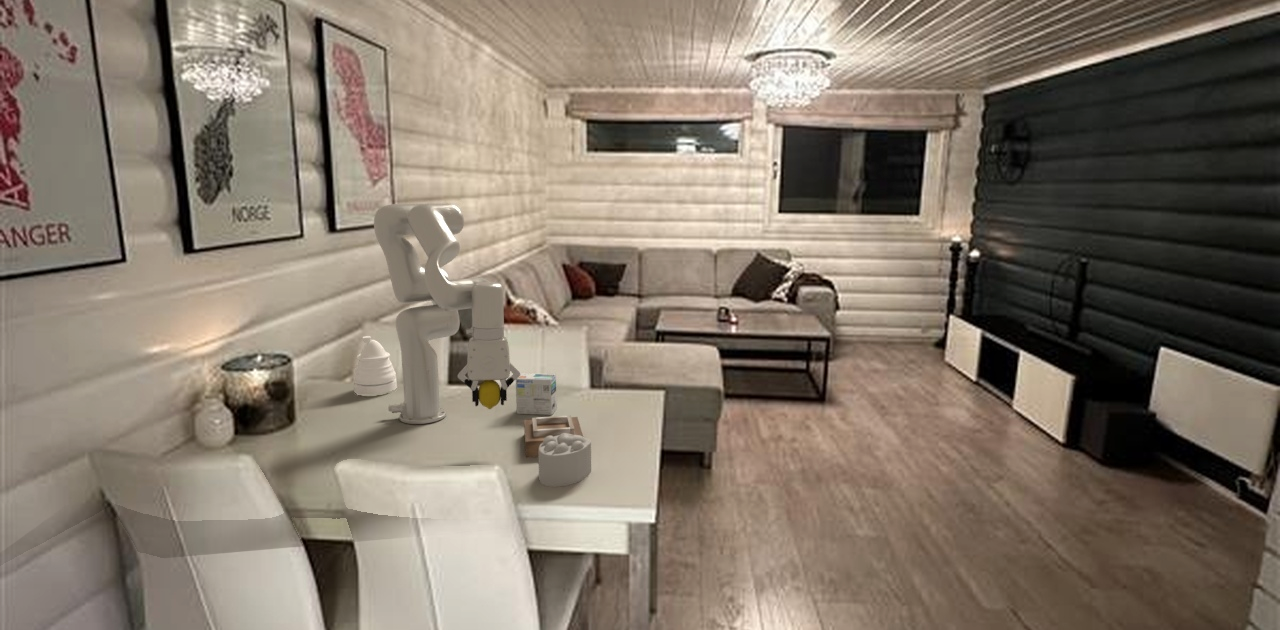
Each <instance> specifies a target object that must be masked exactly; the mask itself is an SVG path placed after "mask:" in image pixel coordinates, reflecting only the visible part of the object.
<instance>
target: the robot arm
mask: <svg viewBox="0 0 1280 630" xmlns="http://www.w3.org/2000/svg"><path fill="white" fill-rule="evenodd" d="M464 226H465V218H464V214H463V213H462V211H461V210H460V208H459V207H458V206H457V205H455V204H454V203H448V202H447V203H446V202H445V203H393V204H392V203H391V204H387V205H383V206H381V207H379V208H378V209H377V210H376V212H375V214H374V218H373V228H374V229H373V231H374V233H375V234H374V235H375V237H376V240H377V243H378V245H379V246H380V248H381V250H382V252H383V254H384V256H385V257H384V258H385V260H386V263H387V270H388V273H389V278H390V282H391V286H392V290H393V293H394V297H395V298H396V300H397V301H398V302H399V303H401V304H417V303H424V302H431V303H432V304H431V305H422V306H415V307H409V308H406V309H403V310H402V311H401V312H400V313H398V314H397V316H396V318H395V328H396V333H397V338H398V341H399V345H400V346H399V347H400V348H399V349H400V355H401V368H402V386H403V399H404V401H403V402H400V404H394V403H393V404H388V409H387V410H388V412H391V413H392V414H397V413H400V414H399V416H398V417H399V421H401V422H402V423H405V424H409V425H424V424H431V423H435V422H439V421H441V420H443V419H444V418H446V415H447V411H446V410H445V408H442V407H441V404H440V403H441V401H440V384H439V381H440V380H439V365H438V362H439V361H438V360H439V359H438V354H437V352H436V350H435V349H434V348H433V346H432V345H431V344H430V343H429V341H431V340H435V339H441V338H447V337H452V336H454V335H455V334H456V333H458V331H459V329H460V323H461V321H460V314H459V311H460V310H467V309H471V327H469V328H466V329H465V333H466V335H470V336H471V337H470V338H469V341H468V346H467V363H466V365H465V366H464V367H463V368H462V369H461V370H460V371H459V372H458V374H457V379H458V380H460V381H461V382H463V383H464V384H465V386H467V387H468V388H469V389H470V390H471V391H472V392H471V393H472V394H471V396H472V397H471V401H472V403H474V405H475V407H478V406H479V403H480V401H479V398H478V390H479V386H478V384H479V381H485V380H494V381H499V382H500V385H501V387H500V390H501V398H500V405H501V406H505V402H507V401H508V400H507V399H508V398H507V393H508V392H507V389H508V388H509V387H510V386H511V385H512V384H513V383H514V382H516V379H517V378H518V377H519V376H520V374H521V372H520V371H519V370H518V368H516V367H515V366H514V365H513V364H512V363H511V360H510V359H511V357H510V348H509V341H508V337H506V336H505V324H504V323H505V320H504V319H505V318H504V317H505V316H504V315H505V314H504V313H505V312H504V311H505V310H504V288H503V286H502V284H501V283H499V282H494V281H489V280H488V279H486V278H483V277H468V278H458V279H451V278H450V276H449V274H448V272H447V271H445V270H444V269H443V268H442V267H445V266H446V265H447V264H449V263H450V262H452V261H453V260H454V259H456V258H457V256H458V254H459V253H460V250H461V249H460V248H461V246H460V243H459V241H458V239H457V238H456V237H455V236H456V235H458V234H460V233H461V232H462V230H463V229H464ZM409 235H411V236H412V235H413V236H415V238H416V239H417V241H418V243H419V245H420V246H421V248H422V249H423V251H424V253H425V254H426V256H427V260H426V263H425V266H424V267H423V266H422V265H421V262H420V259H419V253H418V251H417V249H416V248H415V246H413V244H412V243H411V242H410V241H409V240H407V239H406V238H405V237H404V236H409ZM466 374H467V376H466ZM510 374H511V375H510Z"/></svg>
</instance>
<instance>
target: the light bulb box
mask: <svg viewBox="0 0 1280 630" xmlns="http://www.w3.org/2000/svg"><path fill="white" fill-rule="evenodd" d="M515 397H516V414H517V415H542V416H543V415H544V416H546V415H547V416H552V415H553V414H554V413H555V411H556V410H557V409H558V403H557V402H558V400H557V399H558V398H557V397H558V396H557V374H556V373H535V372H534V373H526V372H525V373H524V372H520V376H519V377H518V378H517V379H516V380H515Z"/></svg>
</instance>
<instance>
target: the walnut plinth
mask: <svg viewBox="0 0 1280 630" xmlns="http://www.w3.org/2000/svg"><path fill="white" fill-rule="evenodd" d="M523 422H524V424H523V425H524V428H523V429H524V444H525V445H524V448H525V457H526V458H536V457H535V456H538V457H539V453H538V450H539V446H540V444H542V443H543V440H544V438H545V437H547V436H550V435H551V436H553V437H554V436H557V435H561V434H562V433H568V434H572V435H580V436H582V437H584V435H583V431H582V428H581V424H580V421H579V418H578V416H571V415H558V416H557V415H556V416H555V415H554V416H542V417H541V416H539V417H538V416H537V417H531V419H523Z"/></svg>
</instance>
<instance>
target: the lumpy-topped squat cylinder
mask: <svg viewBox="0 0 1280 630" xmlns="http://www.w3.org/2000/svg"><path fill="white" fill-rule="evenodd" d="M538 453H539V456H538V480H540V481H539V483H541V484H542V485H543V484H544V485H543V486H546V487H551V486H554V488H555V487H556V486H558V487H564V486H565V485H566V486H570V485H573V483H574V484H576V483H577V484H578V483H579V482H581V481H582V480H584V479H585V478H587V477H588V476H589V475H590V474H591V473H592V440H591V439H590V438H587V437H584V436H583V437H582V436H580V435H572V434H568V433H562V434H561V435H557V436H554V437H553V436H551V435H550V436H547V437H545V438H544V440H543V443H542V444H540V446H539V450H538ZM569 484H570V485H569ZM566 486H565V487H566Z"/></svg>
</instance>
